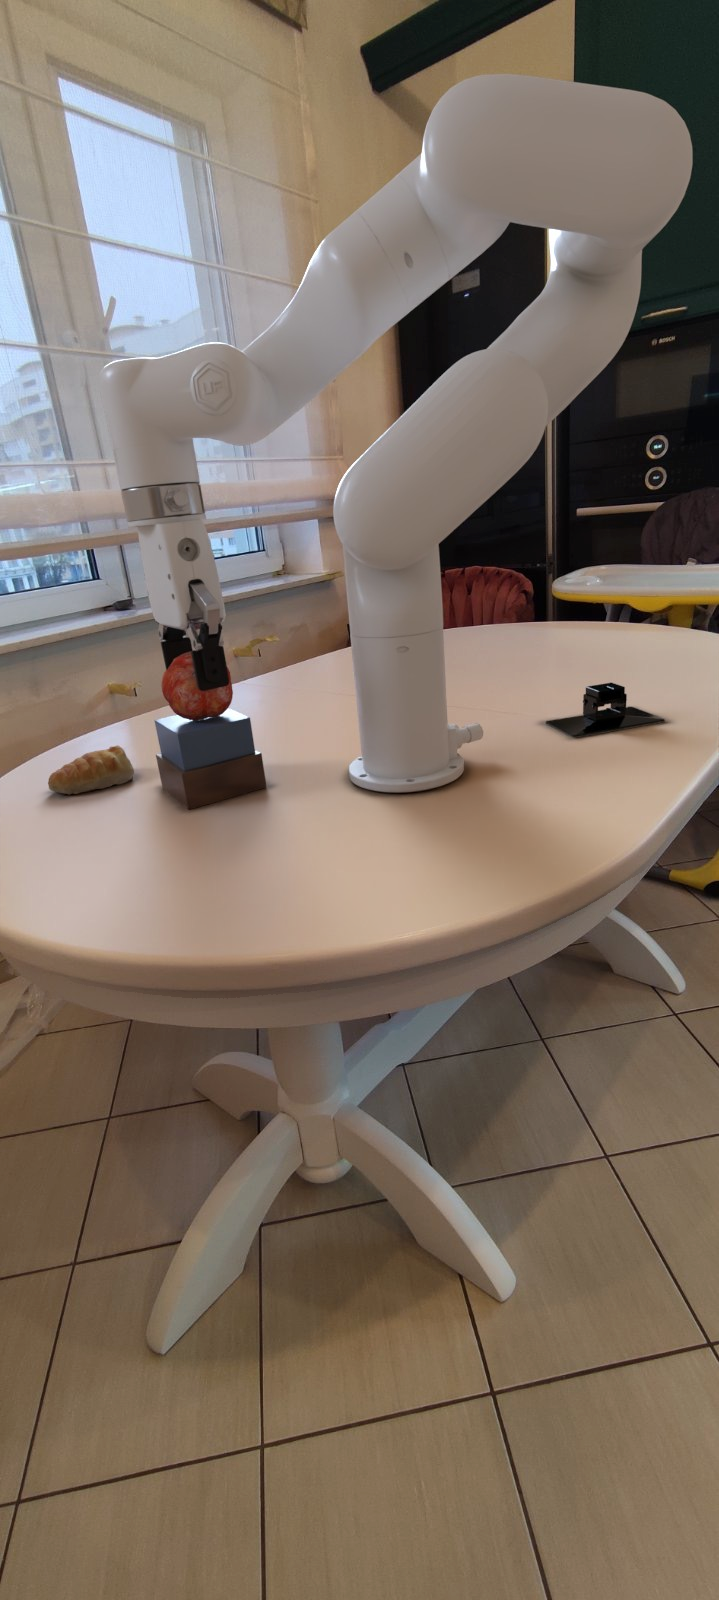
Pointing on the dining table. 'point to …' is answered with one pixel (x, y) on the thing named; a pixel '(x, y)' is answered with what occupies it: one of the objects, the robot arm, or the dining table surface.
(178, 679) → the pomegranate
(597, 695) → the build plate
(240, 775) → the base block
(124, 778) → the pastry
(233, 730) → the top block
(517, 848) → the dining table surface
